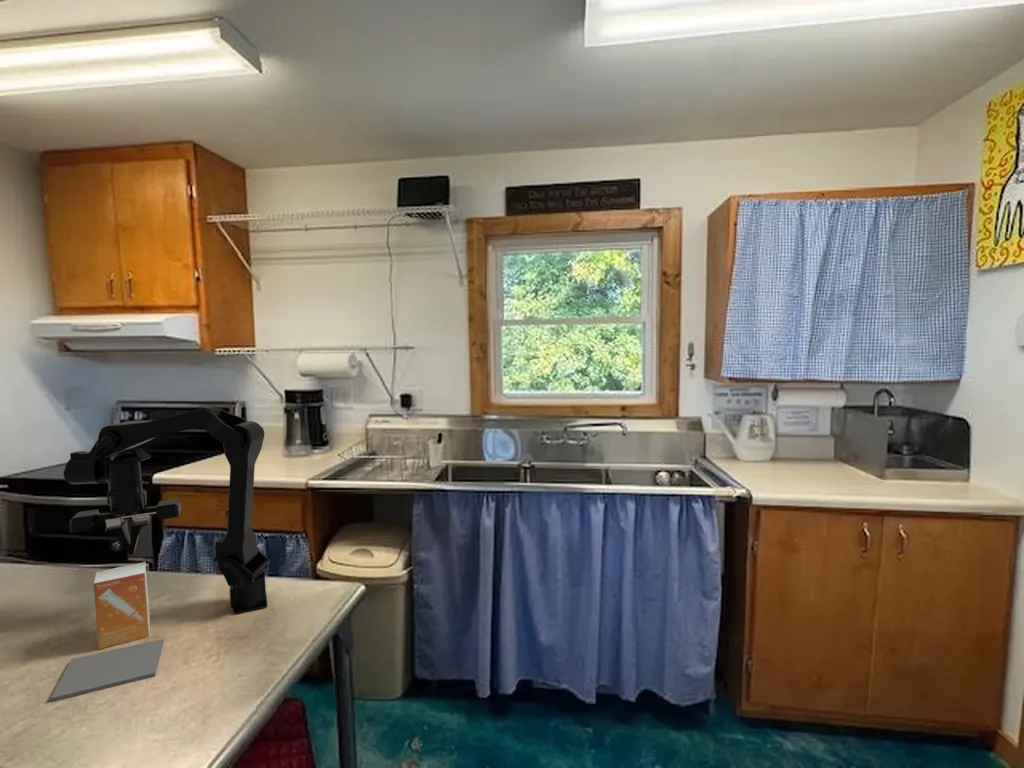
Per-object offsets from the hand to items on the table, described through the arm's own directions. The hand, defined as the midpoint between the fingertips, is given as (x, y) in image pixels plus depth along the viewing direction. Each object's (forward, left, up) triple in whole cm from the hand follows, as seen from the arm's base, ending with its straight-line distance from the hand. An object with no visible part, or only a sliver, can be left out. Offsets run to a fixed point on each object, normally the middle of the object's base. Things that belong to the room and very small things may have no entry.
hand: (131, 554), depth 115 cm
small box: (0, +12, -12) cm, 17 cm away
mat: (0, +24, -12) cm, 27 cm away
